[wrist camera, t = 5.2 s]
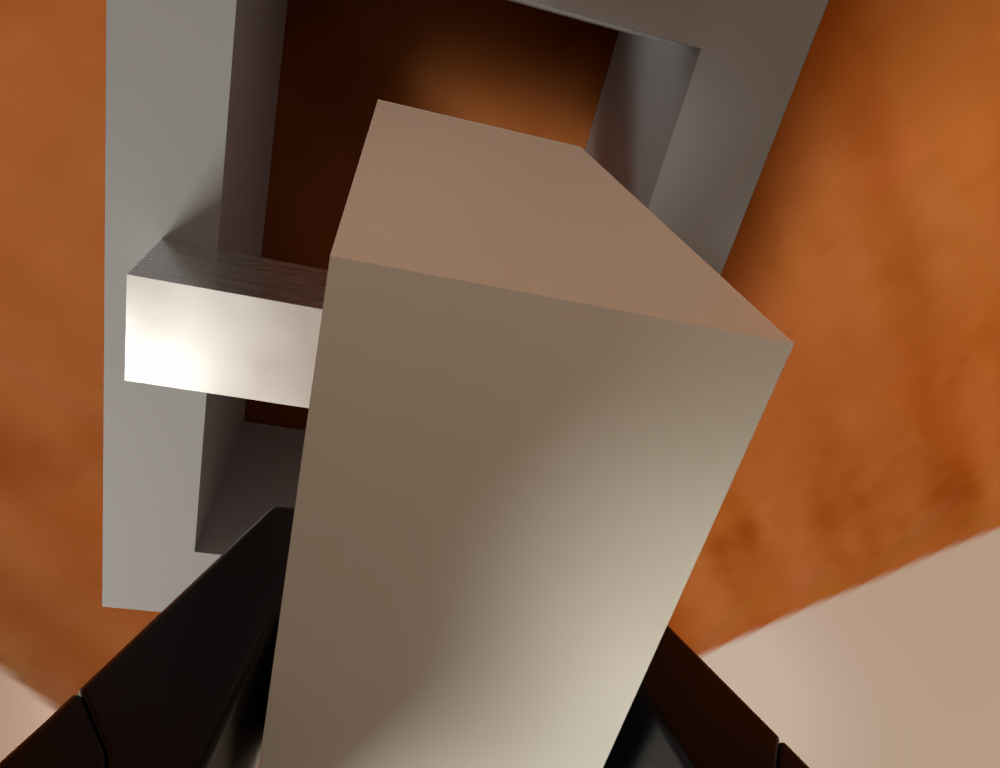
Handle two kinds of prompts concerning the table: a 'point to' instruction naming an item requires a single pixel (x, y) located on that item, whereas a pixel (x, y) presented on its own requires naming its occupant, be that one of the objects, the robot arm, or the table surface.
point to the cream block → (501, 455)
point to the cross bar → (223, 323)
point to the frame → (242, 208)
